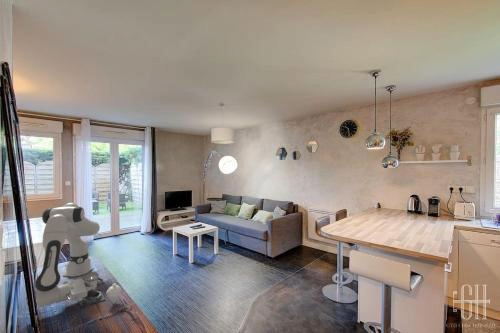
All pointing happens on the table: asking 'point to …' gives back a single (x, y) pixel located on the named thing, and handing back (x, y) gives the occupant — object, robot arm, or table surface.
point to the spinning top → (113, 292)
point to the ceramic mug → (94, 275)
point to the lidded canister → (92, 281)
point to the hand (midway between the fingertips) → (93, 284)
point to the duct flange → (91, 299)
